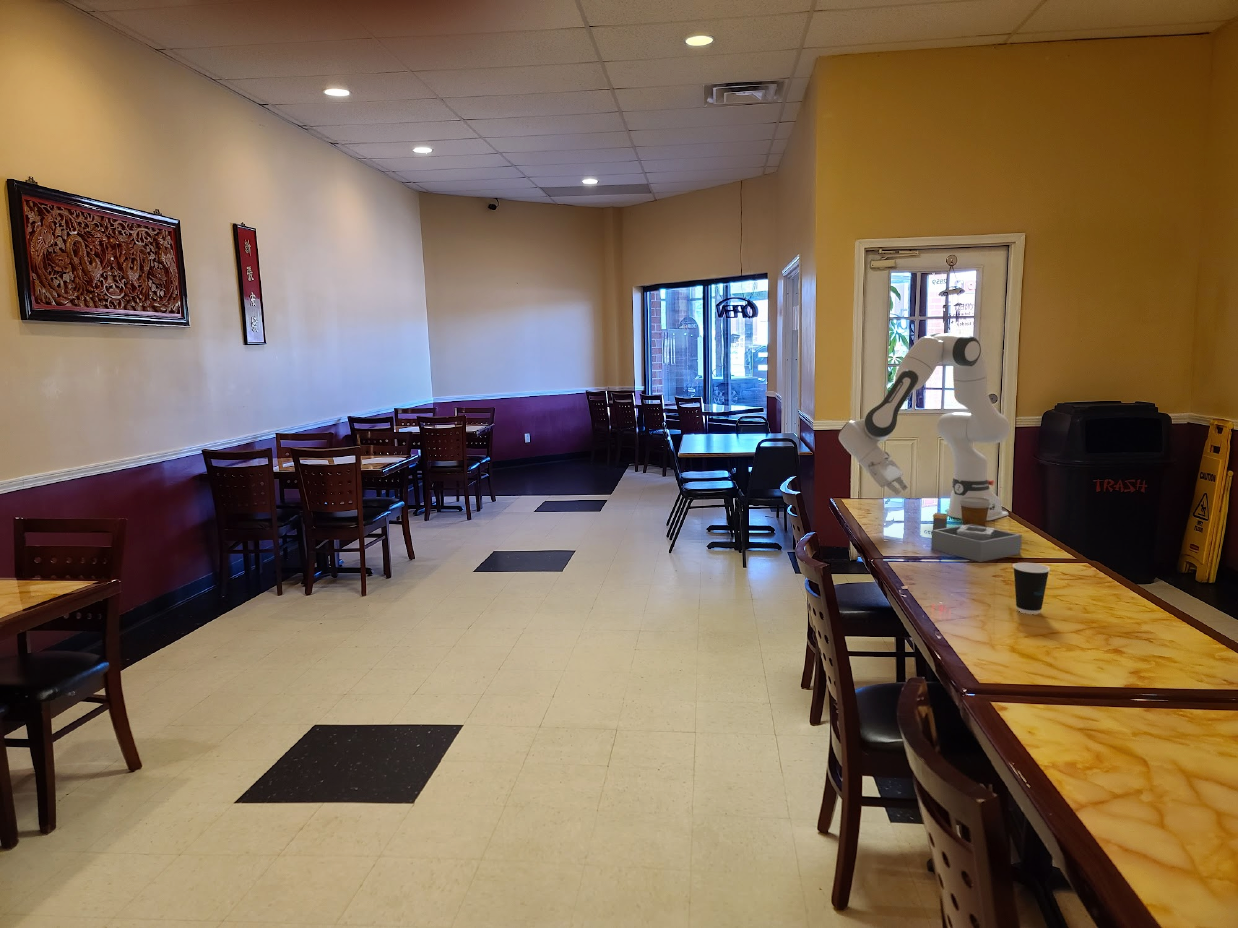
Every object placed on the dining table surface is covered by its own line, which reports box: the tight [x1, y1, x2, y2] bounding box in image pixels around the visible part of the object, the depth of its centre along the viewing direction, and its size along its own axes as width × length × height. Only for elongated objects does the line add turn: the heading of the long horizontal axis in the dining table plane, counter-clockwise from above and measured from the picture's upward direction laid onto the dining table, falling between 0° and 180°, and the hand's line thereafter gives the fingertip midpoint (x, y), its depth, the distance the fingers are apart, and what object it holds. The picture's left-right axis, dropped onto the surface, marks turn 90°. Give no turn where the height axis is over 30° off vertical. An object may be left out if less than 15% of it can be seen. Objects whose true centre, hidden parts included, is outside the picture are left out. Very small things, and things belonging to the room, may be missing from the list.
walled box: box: [930, 524, 1023, 563], centre depth 239 cm, size 18×18×6 cm
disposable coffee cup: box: [960, 497, 990, 527], centre depth 261 cm, size 10×10×12 cm
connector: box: [932, 512, 949, 530], centre depth 257 cm, size 4×4×8 cm
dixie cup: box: [1012, 562, 1051, 615], centre depth 184 cm, size 8×8×11 cm
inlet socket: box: [957, 524, 996, 541], centre depth 239 cm, size 9×9×6 cm
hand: (902, 491), depth 262 cm, fingers open, 8 cm apart
